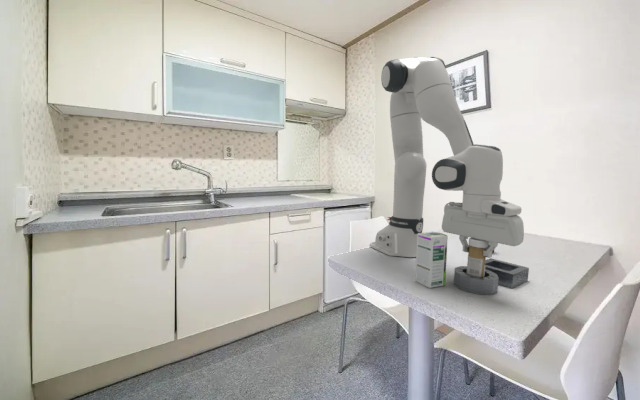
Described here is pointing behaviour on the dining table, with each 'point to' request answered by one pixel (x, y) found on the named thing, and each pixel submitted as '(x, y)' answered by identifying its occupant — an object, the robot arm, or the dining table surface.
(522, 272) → the square socket
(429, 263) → the syrup box
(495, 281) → the round socket
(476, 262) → the sprinkles bottle
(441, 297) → the dining table surface
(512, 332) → the dining table surface
